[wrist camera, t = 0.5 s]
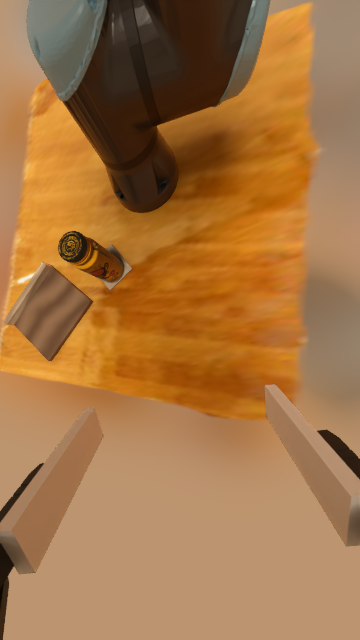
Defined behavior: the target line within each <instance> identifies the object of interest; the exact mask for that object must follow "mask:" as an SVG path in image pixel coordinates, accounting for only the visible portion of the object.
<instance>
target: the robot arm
mask: <svg viewBox="0 0 360 640" xmlns="http://www.w3.org/2000/svg"><path fill="white" fill-rule="evenodd" d="M269 5H270V0H29V5H28V10H27V33H28V38H29V43H30V46H31V49H32V51H33V54H34V56H35V58H36V60H37V61H38V63H39V65H40V66H41V68H42V70H43V71H44V73H45V75H46V76H47V78H48V80H49V81H50V83H51V85H52V86H53V88H54V90H55V92H56V94H57V96H58V98H59V99H60V100H61V101H62V102H63V103H64V105H65V106H66V108H67V109H68V111H69V112H70V114H71V115H72V116H73V118H74V119H75V121H76V122H77V124H78V125H79V127H80V128H81V130H82V131H83V133H84V134H85V136H86V137H87V139H88V140H89V142H90V143H91V145H92V146H93V148H94V149H95V151H96V152H97V154H98V155H99V156H100V158H101V159H102V161H103V163H104V164H105V167H106V170H107V173H108V176H109V179H110V182H111V185H112V188H113V190H114V193H115V194H116V196H117V198H118V199H119V200H120V202H121V203H122V204H123V205H124V206H125V207H126V208H127V209H129V210H131V211H134V212H148V211H152V210H154V209H156V208H158V207H160V206H161V205H162V204H164V203H165V202H166V201H167V200H168V199H169V198H170V196H171V195H172V193H173V191H174V189H175V187H176V184H177V180H178V170H177V165H176V161H175V157H174V155H173V153H172V151H171V149H170V148H169V146H168V144H167V143H166V141H165V140H164V138H163V136H162V135H161V133H160V132H159V130H158V128H157V125H160V124H163V123H166V122H169V121H171V120H174V119H177V118H180V117H183V116H186V115H189V114H191V113H194V112H197V111H200V110H203V109H206V108H209V107H217V106H218V105H220V104H221V103H222V102H223V101H225V100H228V99H230V98H232V97H235V96H237V95H238V94H239V93H240V92H241V91H242V90H243V89H244V88H245V87H246V85H247V83H248V81H249V79H250V77H251V75H252V73H253V70H254V67H255V64H256V61H257V58H258V55H259V51H260V47H261V43H262V39H263V35H264V30H265V26H266V21H267V16H268V10H269ZM265 404H266V417H267V418H268V420H269V422H270V423H271V425H272V427H273V428H274V430H275V431H276V433H277V435H278V436H279V438H280V440H281V441H282V443H283V444H284V446H285V448H286V449H287V451H288V453H289V454H290V456H291V458H292V459H293V461H294V462H295V464H296V466H297V467H298V469H299V471H300V472H301V474H302V476H303V477H304V478H305V480H306V482H307V484H308V485H309V487H310V489H311V490H312V492H313V493H314V495H315V497H316V498H317V500H318V502H319V503H320V505H321V506H322V508H323V510H324V511H325V513H326V515H327V516H328V518H329V520H330V521H331V523H332V524H333V526H334V528H335V529H336V531H337V533H338V534H339V536H340V537H341V539H342V541H343V542H344V544H345V546H357V545H360V459H359V458H358V456H357V455H356V454H355V453H353V451H352V450H350V449H349V447H348V446H347V445H346V444H345V443H344V442H343V441H342V440H341V439H340V438H339V437H337V436H336V435H334V434H333V433H331V432H330V431H328V430H320V431H316V430H315V429H314V427H313V426H312V425H311V424H310V423H309V422H308V421H307V420H306V418H305V417H304V416H303V415H302V414H301V413H300V412H299V410H298V409H297V408H296V407H295V406H294V405H293V404H292V403H291V401H290V400H289V399H288V398H287V397H286V396H285V395H284V394H283V392H282V391H281V390H280V389H279V388H278V387H277V386H276V385H275V384H272V385H265ZM102 438H103V433H102V430H101V427H100V424H99V420H98V417H97V414H96V411H95V408H89V409H84V411H83V412H82V413H81V415H80V416H79V417H78V419H77V420H76V422H75V423H74V424H73V426H72V427H71V428H70V430H69V431H68V432H67V434H66V435H65V436H64V438H63V439H62V440H61V442H60V443H59V444H58V446H57V447H56V448H55V450H54V451H53V453H52V454H51V455H50V457H49V458H48V459H47V461H46V462H45V463H42V464H39V466H37V467H36V468H35V469H34V470H33V471H32V472H31V473H30V474H29V475H28V476H27V478H26V479H25V480H24V482H23V483H22V484H21V486H20V487H19V488H18V489H17V491H16V492H15V493H14V495H13V497H11V498H10V499H9V501H8V502H7V503H6V505H5V506H4V507H3V508H2V510H1V511H0V640H3V632H4V623H5V615H6V606H7V597H8V589H9V580H8V575H9V573H10V572H11V570H12V568H13V567H15V568H16V570H17V572H18V573H19V574H27V573H36V571H37V569H38V567H39V565H40V563H41V561H42V559H43V557H44V555H45V553H46V551H47V549H48V547H49V545H50V543H51V541H52V539H53V537H54V535H55V533H56V531H57V529H58V527H59V525H60V523H61V521H62V519H63V517H64V515H65V513H66V511H67V508H68V507H69V505H70V503H71V500H72V498H73V497H74V495H75V492H76V491H77V488H78V486H79V485H80V482H81V480H82V478H83V476H84V474H85V472H86V470H87V468H88V466H89V464H90V462H91V460H92V458H93V456H94V454H95V452H96V450H97V448H98V446H99V444H100V442H101V440H102Z"/></svg>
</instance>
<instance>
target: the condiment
mask: <svg viewBox="0 0 360 640" xmlns="http://www.w3.org/2000/svg"><path fill="white" fill-rule="evenodd" d="M58 250H59V254H60V256H61V257H62V258H63V259H64V260H65V261H67V262H70V263H71V264H73V265H74V266H75V267H76V268H78V269H80V270H82V271H84V272H87V273H89V274H91V275H93V276H95V277H98V278H100V279H102V281H103V282H104V283H105V285H106V286H107V287H108V289H109V290H111V289H112V288H113V287H114V286H115V285H116V284H117V283H118V282H119V281H120V280H121V279H122V278H123V277H124V276H126V274H127V273H128V272H129V271H130V270H131V269H132V268H131V267H130V266H129V264H128V263H127V262H126V261H125V260H124V258H123V257H122V256H121V255H120V254H119V252H118V251H117V250H116V249H115V248H114V246H113V245H112V244H110V245H109V247H108V248H107V249H105V248H103V247H102V246H101V245H99V244H98V243H97V242H96V241H94V240H93V239H91V238H87V237H85V236H83V235H82V234H81V233H80V232H76V231H71V232H68V233H66V234H65V235H63V237H62V238H61V239H60V241H59V245H58Z"/></svg>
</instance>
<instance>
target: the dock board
mask: <svg viewBox="0 0 360 640" xmlns="http://www.w3.org/2000/svg"><path fill="white" fill-rule="evenodd" d="M92 303H93V301H92V300H91V299H90V298H88V297H87V296H86V295H85V294H84V293H83V292H82V291H80V290H79V289H78V288H77V287H76V286H75V285H73V284H72V283H71V282H70V281H69V280H68V279H67V278H65V277H64V276H63V275H62V274H61V273H60V272H58V271H57V270H56V269H55V268H54V267H53V266H52V265H49V264H47V263H44V262H42V263H41V265H40V266H39V268H38V269H37V271H36V273H35V274H34V276H33V277H32V279H31V280H30V282H29V283H28V285H27V286H26V288H25V289H24V291H23V292H22V294H21V295H20V297H19V298H18V300H17V301H16V303H15V304H14V306H13V307H12V309H11V310H10V312H9V313H8V315H7V317H6V318H5V320H4V322H5V323H6V324H11V325H15V326H16V327H17V328H18V329H19V330H20V331H21V332H22V334H23V335H24V336H25V337H26V338H27V339H28V340H29V341H30V342H31V343H32V344H33V345H34V346H35V347H36V348H37V349H38V350H39V352H40V353H41V354H42V355H43V356H44V357H45V358H46V359H47V360H48V361H52V360H53V358H54V357H55V355H56V354H57V353H58V351H59V350H60V348H61V347H62V345H63V344H64V343H65V341H66V340H67V338H68V337H69V335H70V334H71V333H72V331H73V330H74V328H75V327H76V325H77V324H78V323H79V321H80V320H81V318H82V317H83V315H84V314H85V313H86V311H87V310H88V308H89V307H90V305H91V304H92Z"/></svg>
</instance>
